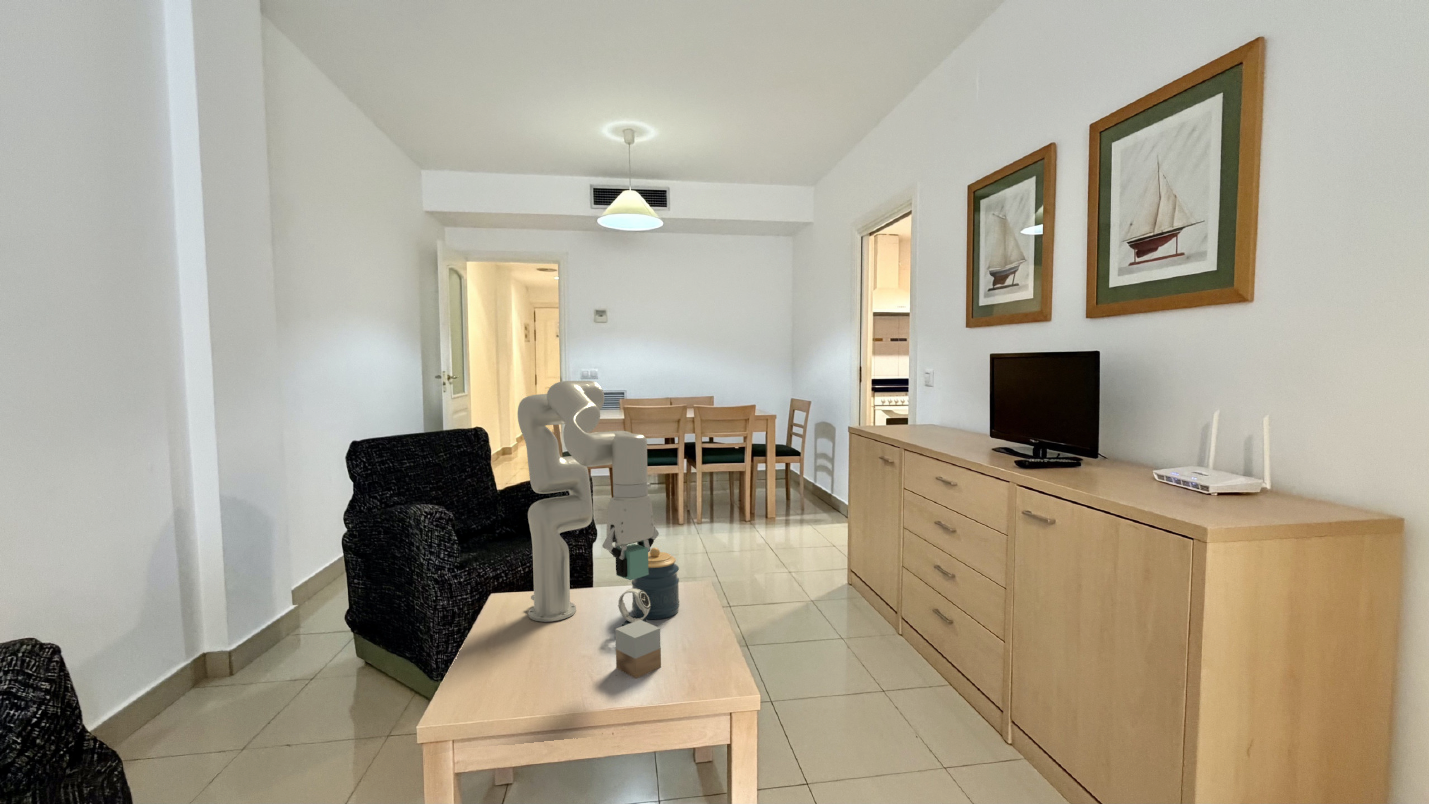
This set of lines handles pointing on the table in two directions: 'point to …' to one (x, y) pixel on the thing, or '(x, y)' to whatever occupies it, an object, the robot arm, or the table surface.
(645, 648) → the top block
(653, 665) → the base block
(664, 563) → the canister
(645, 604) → the watch
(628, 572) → the stack block
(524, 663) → the table surface
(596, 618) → the table surface
